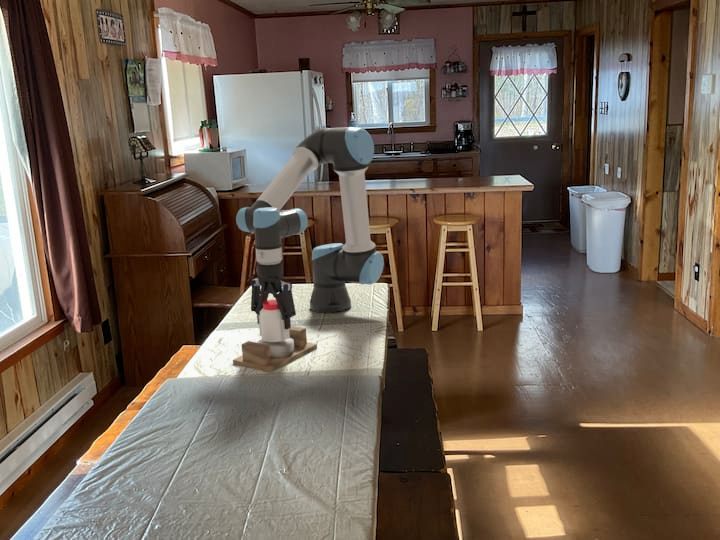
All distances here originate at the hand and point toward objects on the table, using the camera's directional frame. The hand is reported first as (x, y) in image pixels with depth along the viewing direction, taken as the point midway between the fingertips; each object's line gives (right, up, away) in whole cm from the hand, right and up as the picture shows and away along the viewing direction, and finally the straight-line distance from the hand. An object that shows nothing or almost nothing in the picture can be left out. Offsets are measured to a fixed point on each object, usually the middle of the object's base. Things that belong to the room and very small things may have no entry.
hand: (274, 336), depth 201 cm
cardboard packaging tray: (0, -6, +1) cm, 6 cm away
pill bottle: (0, -1, 0) cm, 0 cm away
